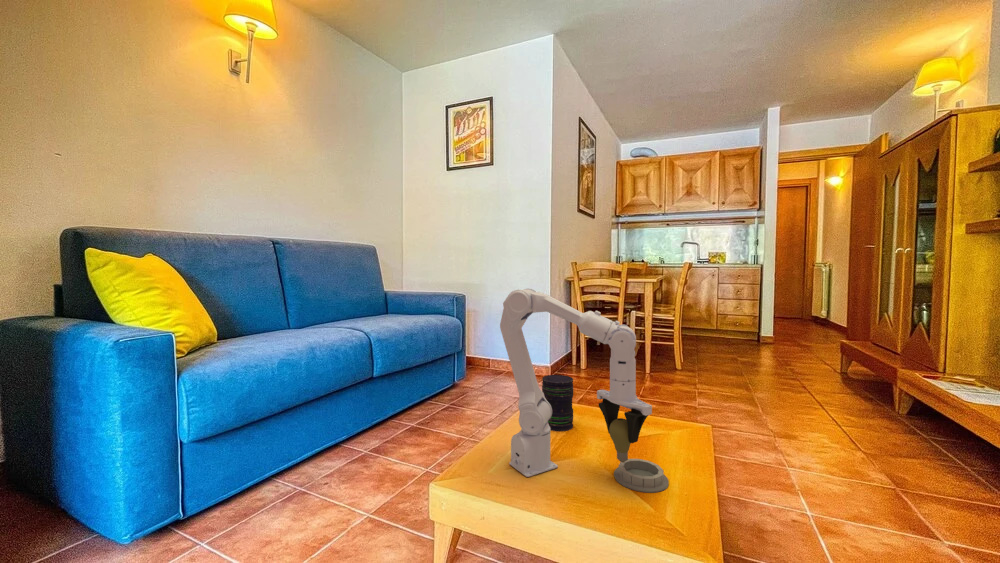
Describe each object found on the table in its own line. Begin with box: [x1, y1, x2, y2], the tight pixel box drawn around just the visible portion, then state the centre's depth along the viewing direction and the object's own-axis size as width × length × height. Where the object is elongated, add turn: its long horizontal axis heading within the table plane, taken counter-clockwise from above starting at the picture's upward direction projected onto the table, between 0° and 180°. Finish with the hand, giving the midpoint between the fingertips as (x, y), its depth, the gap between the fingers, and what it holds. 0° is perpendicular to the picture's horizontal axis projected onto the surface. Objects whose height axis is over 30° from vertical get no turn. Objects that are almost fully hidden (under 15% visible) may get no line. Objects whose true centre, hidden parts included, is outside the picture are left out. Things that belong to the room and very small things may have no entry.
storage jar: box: [541, 374, 574, 432], centre depth 126 cm, size 10×10×15 cm
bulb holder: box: [613, 458, 670, 494], centre depth 93 cm, size 12×12×2 cm
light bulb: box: [608, 417, 632, 463], centre depth 92 cm, size 6×6×10 cm
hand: (622, 437), depth 92 cm, fingers closed on light bulb, 6 cm apart
